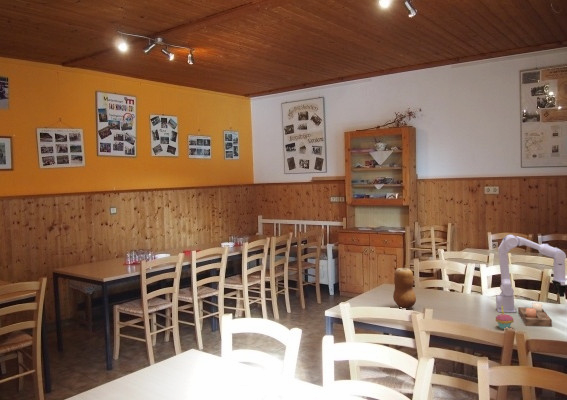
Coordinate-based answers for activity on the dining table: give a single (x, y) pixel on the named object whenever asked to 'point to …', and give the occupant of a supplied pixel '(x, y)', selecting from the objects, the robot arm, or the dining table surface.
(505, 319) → the cupcake
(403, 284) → the butternut squash
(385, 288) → the dining table surface
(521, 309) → the wooden compartment tray
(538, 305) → the cream button
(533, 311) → the terracotta button
